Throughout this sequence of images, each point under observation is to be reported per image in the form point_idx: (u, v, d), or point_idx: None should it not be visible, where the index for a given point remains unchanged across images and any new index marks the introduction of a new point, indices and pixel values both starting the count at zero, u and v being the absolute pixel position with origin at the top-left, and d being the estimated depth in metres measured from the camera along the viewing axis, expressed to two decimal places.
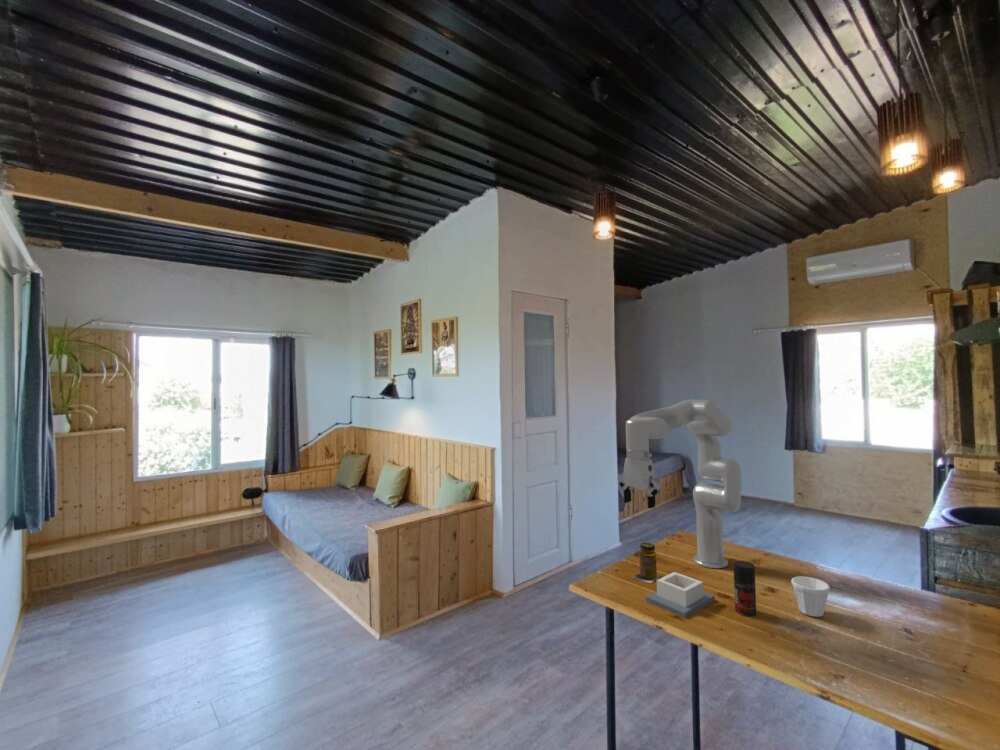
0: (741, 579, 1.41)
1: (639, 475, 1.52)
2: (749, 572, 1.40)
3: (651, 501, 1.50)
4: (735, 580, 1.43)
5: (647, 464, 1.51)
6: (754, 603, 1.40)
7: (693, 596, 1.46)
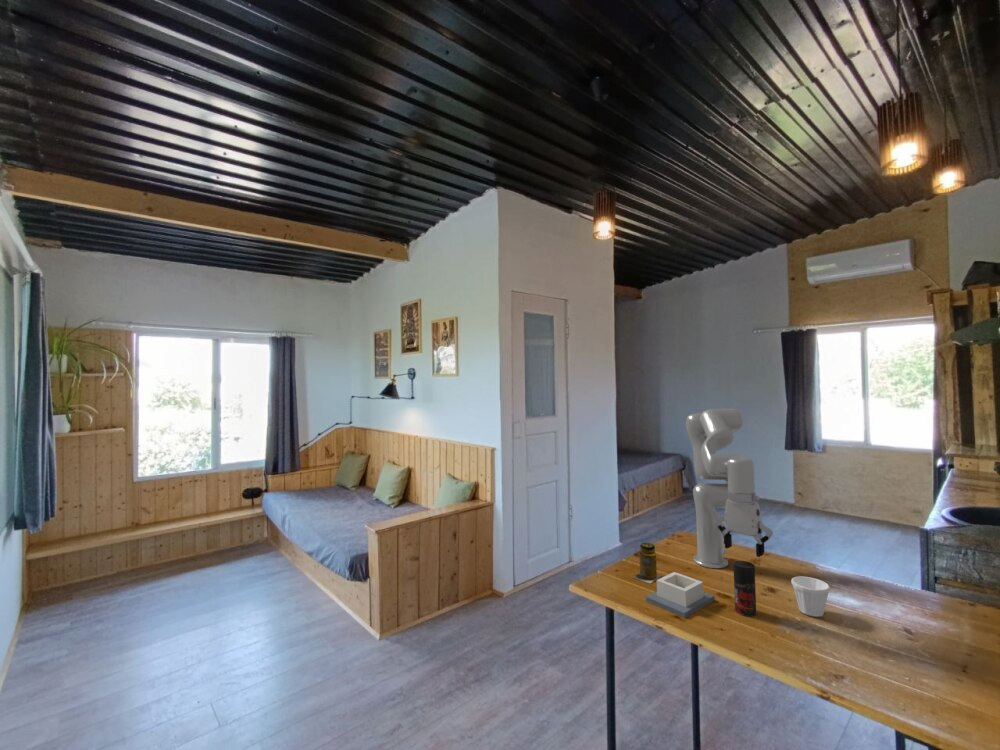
0: (741, 579, 1.41)
1: (746, 520, 1.40)
2: (749, 572, 1.40)
3: (760, 549, 1.38)
4: (735, 580, 1.43)
5: (755, 508, 1.39)
6: (754, 603, 1.40)
7: (693, 596, 1.46)
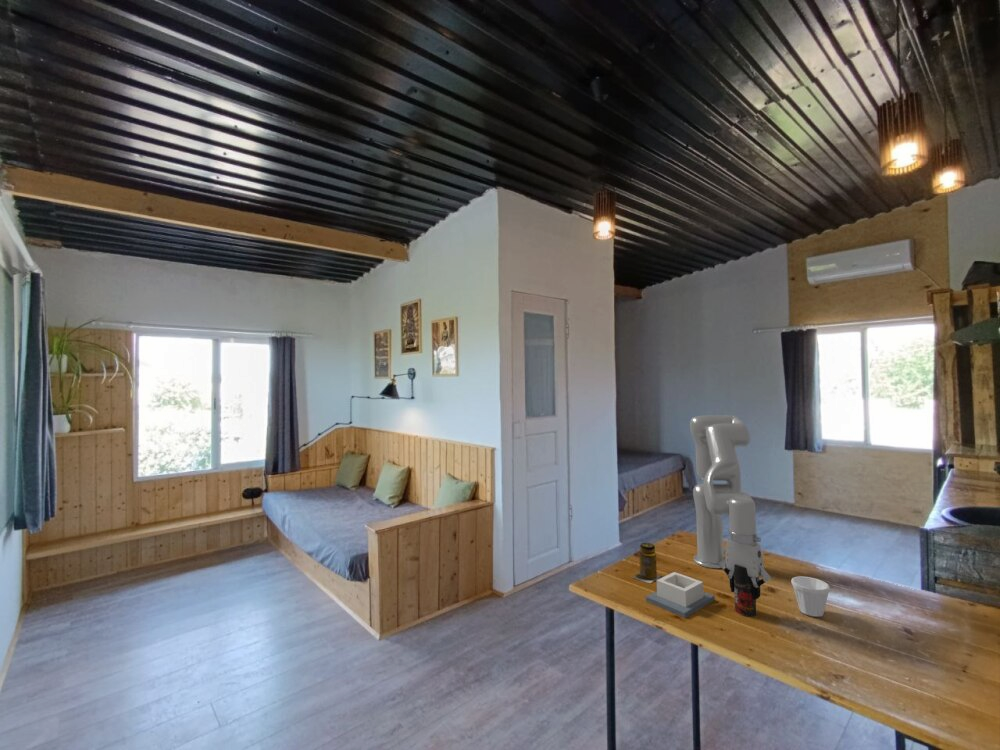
0: (741, 579, 1.41)
1: (747, 561, 1.40)
2: None
3: (756, 592, 1.39)
4: (735, 580, 1.43)
5: (756, 550, 1.39)
6: (754, 603, 1.40)
7: (693, 596, 1.46)
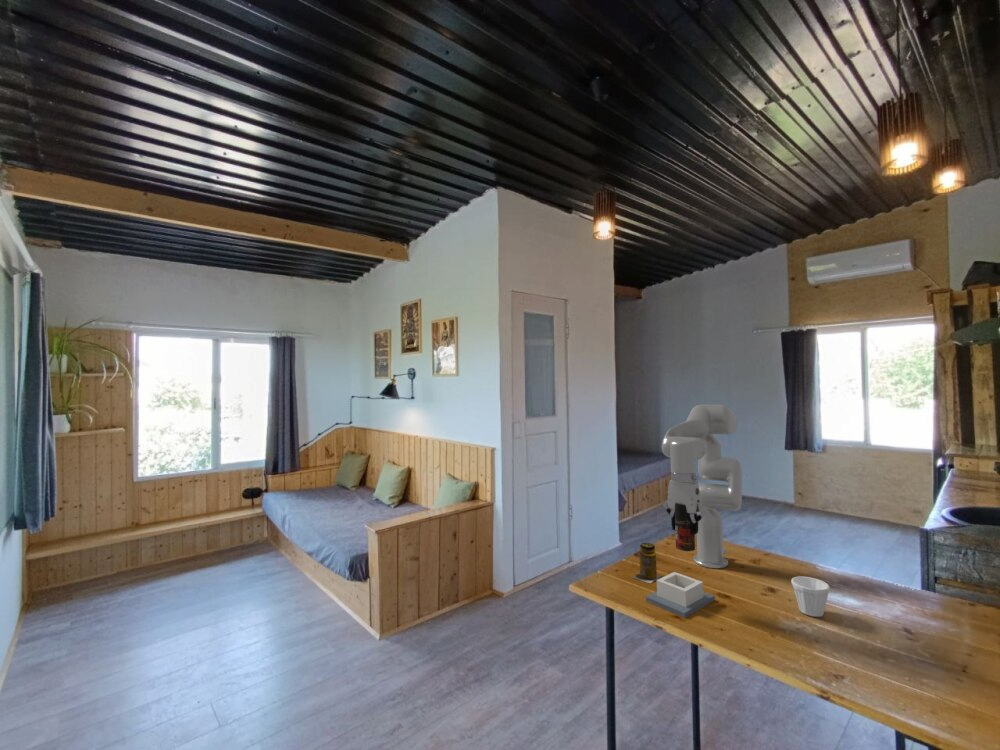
0: (680, 516, 1.48)
1: (686, 499, 1.47)
2: None
3: (694, 527, 1.47)
4: (675, 518, 1.50)
5: (694, 487, 1.47)
6: (693, 538, 1.48)
7: (693, 596, 1.46)
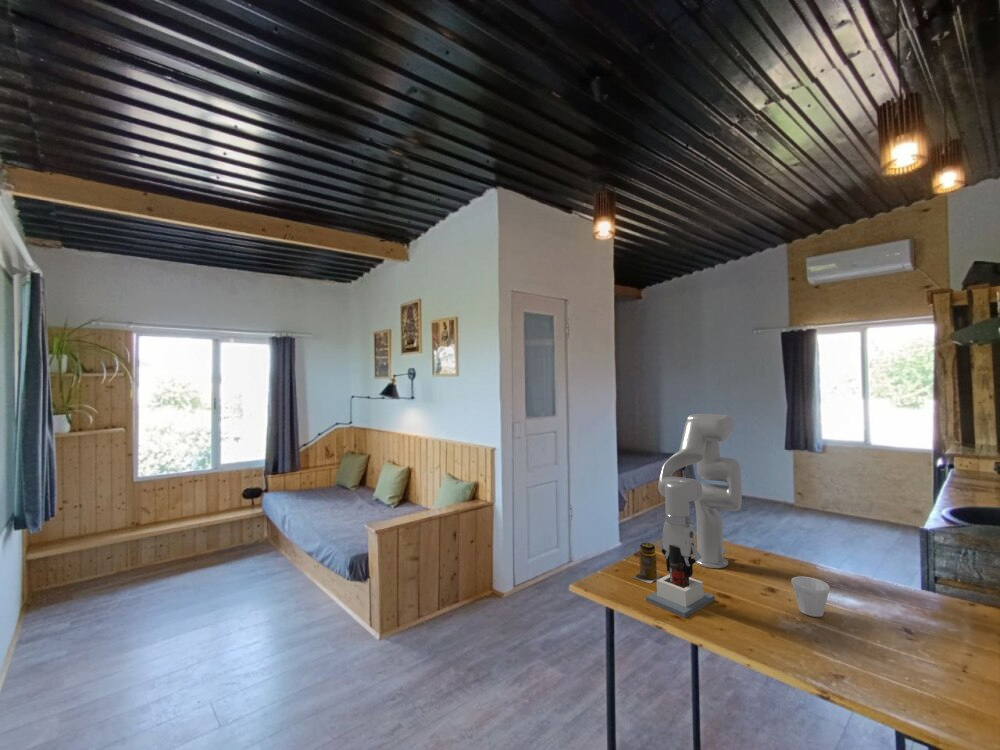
0: (674, 559, 1.49)
1: (680, 541, 1.48)
2: None
3: (688, 570, 1.47)
4: (670, 560, 1.51)
5: (688, 531, 1.47)
6: (687, 581, 1.49)
7: (693, 596, 1.46)
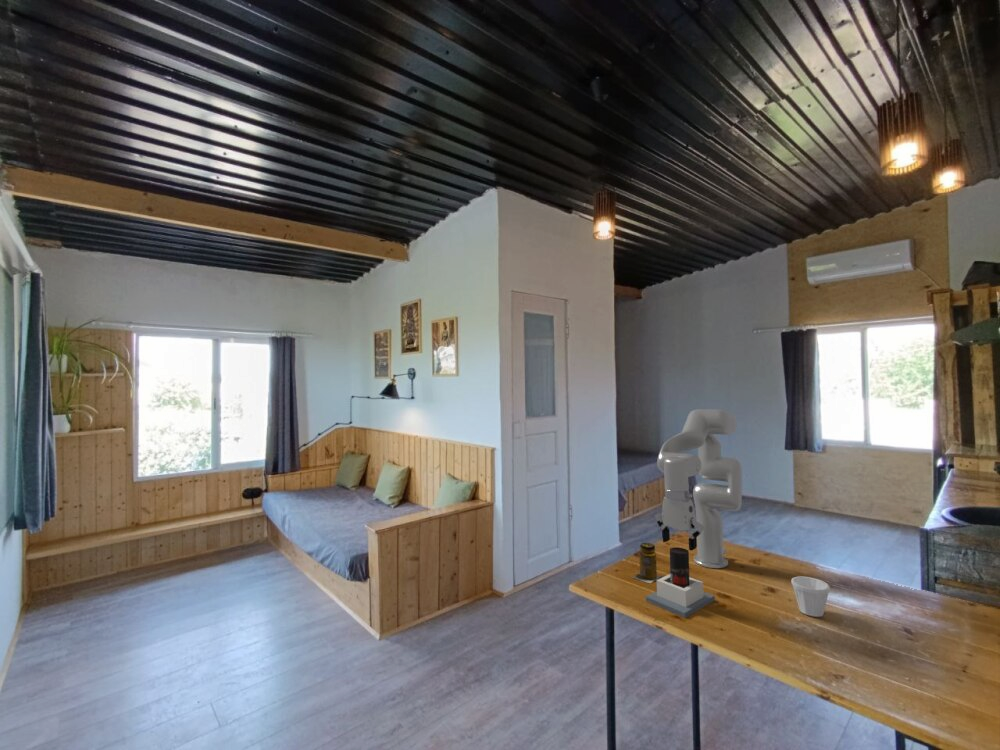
0: (675, 564, 1.49)
1: (679, 516, 1.48)
2: (682, 558, 1.49)
3: (692, 543, 1.47)
4: (670, 565, 1.51)
5: (688, 505, 1.47)
6: None
7: (693, 596, 1.46)
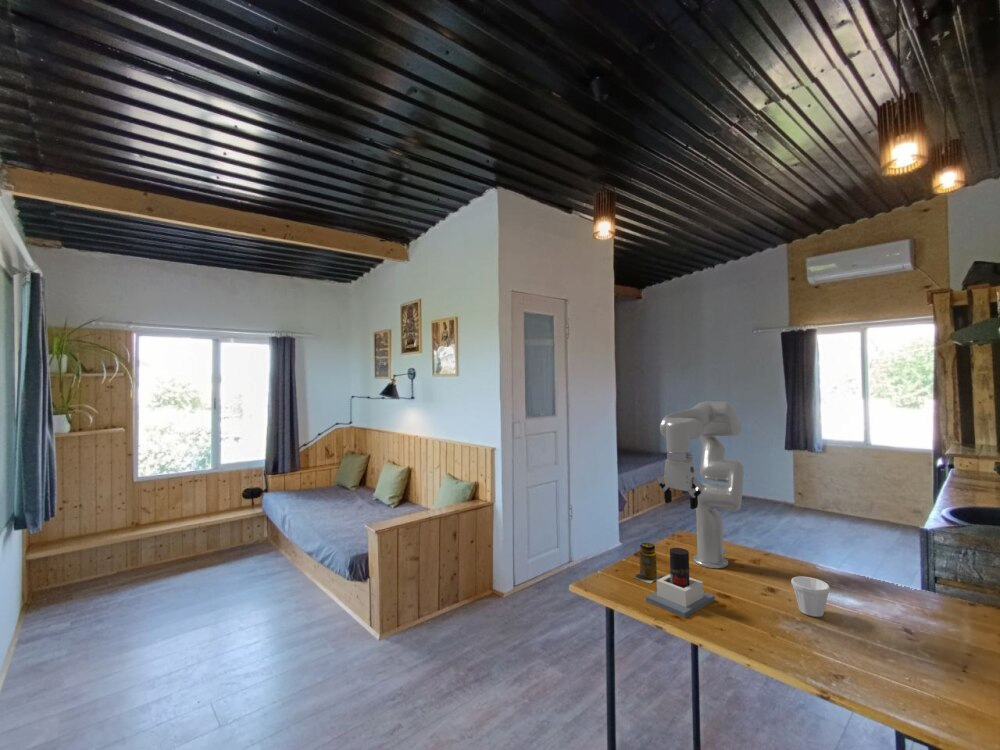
0: (675, 565, 1.49)
1: (681, 477, 1.54)
2: (683, 558, 1.48)
3: (694, 502, 1.52)
4: (671, 566, 1.51)
5: (689, 466, 1.53)
6: None
7: (693, 596, 1.46)
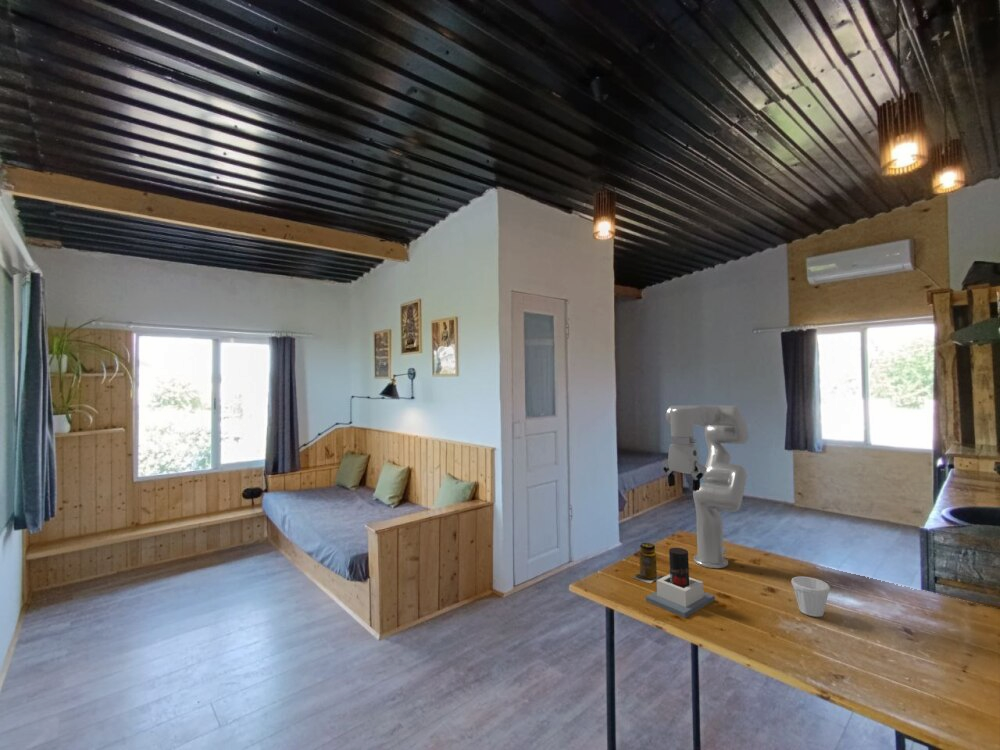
0: (675, 565, 1.49)
1: (684, 460, 1.62)
2: (682, 558, 1.48)
3: (696, 484, 1.60)
4: (670, 566, 1.51)
5: (692, 449, 1.61)
6: None
7: (693, 596, 1.46)
